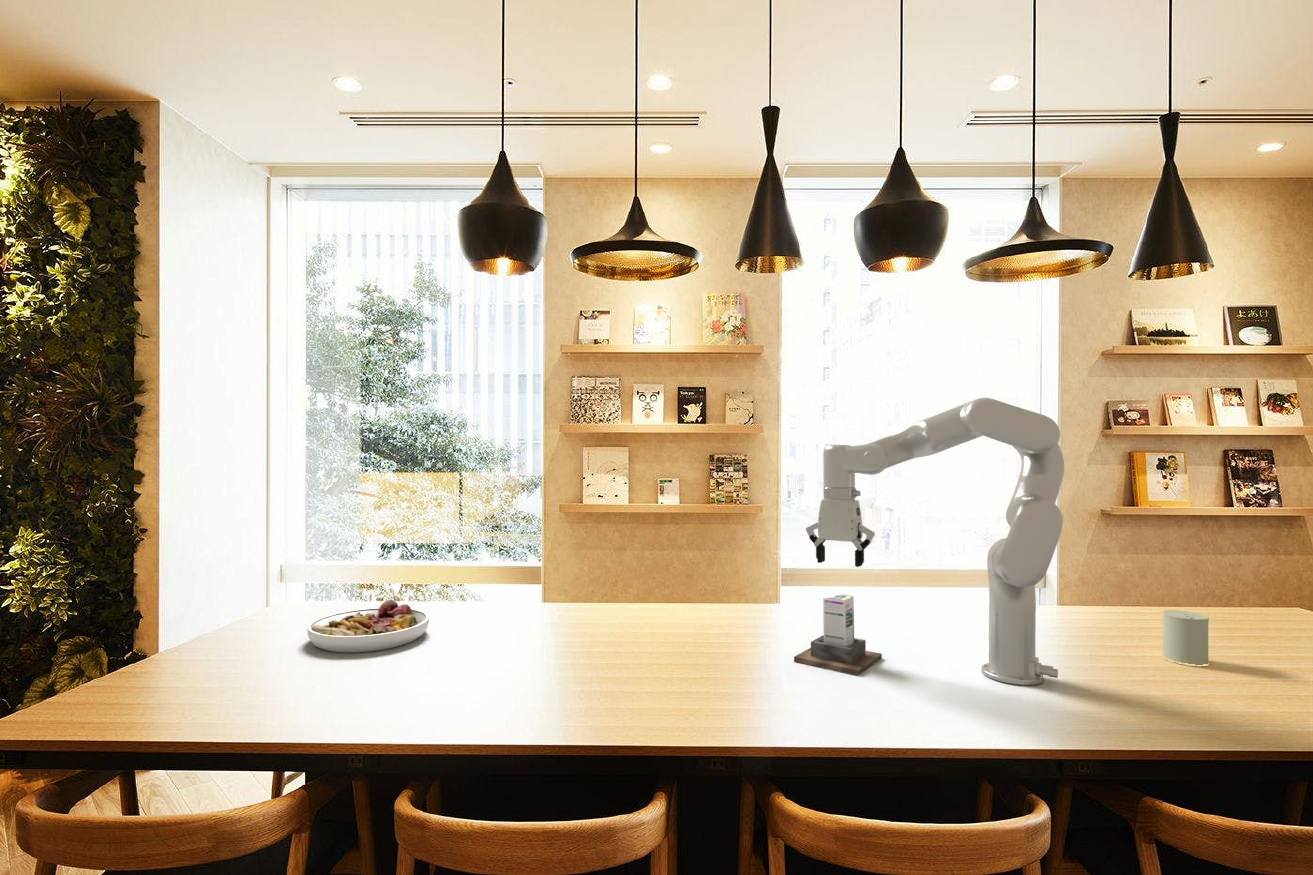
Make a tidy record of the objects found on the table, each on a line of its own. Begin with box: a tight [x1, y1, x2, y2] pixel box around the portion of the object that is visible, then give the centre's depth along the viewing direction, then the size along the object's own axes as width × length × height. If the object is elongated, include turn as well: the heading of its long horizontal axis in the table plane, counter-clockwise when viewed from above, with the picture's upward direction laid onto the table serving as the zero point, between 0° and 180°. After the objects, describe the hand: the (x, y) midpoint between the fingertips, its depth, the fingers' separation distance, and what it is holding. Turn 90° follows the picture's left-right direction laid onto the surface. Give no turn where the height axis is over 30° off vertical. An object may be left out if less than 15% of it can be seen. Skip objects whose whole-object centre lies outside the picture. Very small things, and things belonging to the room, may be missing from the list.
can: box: [1161, 609, 1210, 665], centre depth 167 cm, size 9×9×12 cm
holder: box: [793, 634, 883, 677], centre depth 165 cm, size 16×16×5 cm
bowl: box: [306, 599, 430, 654], centre depth 181 cm, size 30×30×8 cm
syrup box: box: [822, 593, 855, 647], centre depth 165 cm, size 6×6×14 cm
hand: (839, 564), depth 165 cm, fingers open, 9 cm apart
